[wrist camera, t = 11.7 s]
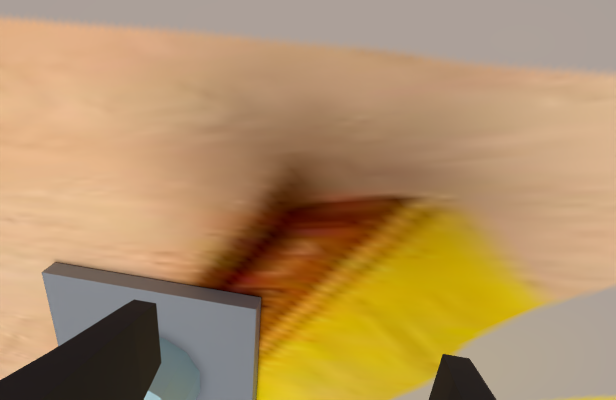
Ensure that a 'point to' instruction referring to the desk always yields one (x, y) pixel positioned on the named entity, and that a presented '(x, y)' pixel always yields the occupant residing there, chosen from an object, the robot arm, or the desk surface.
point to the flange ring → (174, 375)
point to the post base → (168, 321)
